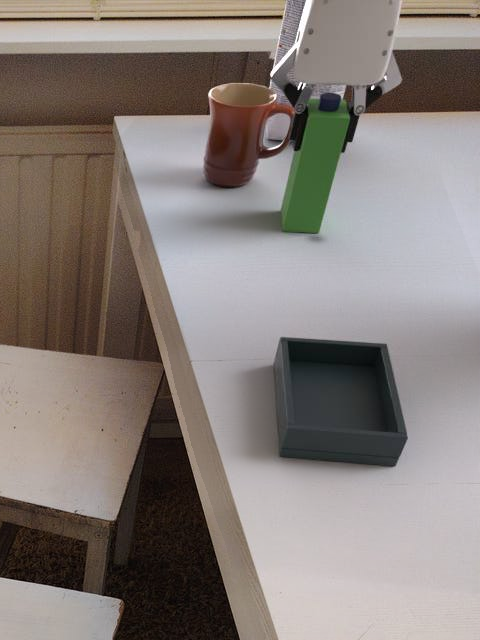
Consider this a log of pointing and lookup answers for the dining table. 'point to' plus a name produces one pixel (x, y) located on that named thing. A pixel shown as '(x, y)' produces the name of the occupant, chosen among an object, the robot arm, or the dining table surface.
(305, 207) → the green drink carton
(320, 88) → the juice carton
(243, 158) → the mug
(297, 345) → the dark grey tray
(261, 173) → the dining table surface
